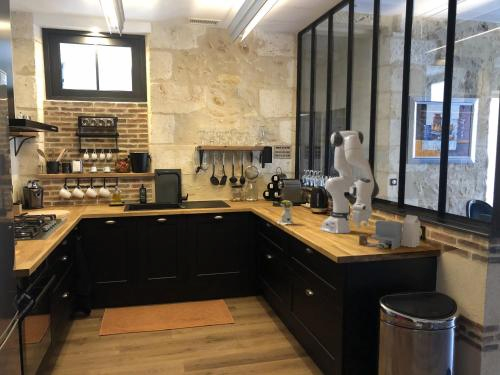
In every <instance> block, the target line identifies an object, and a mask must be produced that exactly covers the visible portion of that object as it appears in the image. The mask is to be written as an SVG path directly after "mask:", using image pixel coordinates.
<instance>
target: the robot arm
mask: <svg viewBox="0 0 500 375" xmlns="http://www.w3.org/2000/svg"><path fill="white" fill-rule="evenodd" d="M363 143H364V134H363V132H362V131H357V130H340V131H339V130H338V131H337V130H336V131H333V133H332V134H331V136H330V144H331V145H332V146H333V147H335V148H334V158H333V159H334V161H333V162H334V164H333V168H334V170H336V171H337V172H338V175H339V176H334V177H331V178H327V179H326V181H325V188H326V191H327V192H329V194H330V196H331V197H332V198H331V199H332V205H333V206H332V211H330V212H329V214H330V216H329V217H327V218H326V219H325V220H324V221H323V222H322V225H321V227H319V228H318V230H319V231H321V232H325V233H326V232H327V233H331V234H349V233H351V232H352V231H351V226H350V216H352V217H351V218H352V222H353V223H355V225H356V229H358V230H359V229H361V222H363V221H364V222H363V226H364V227H368V222H369V219H371V218H373V207H372V199H375V198H376V197H377V196H378V195H379V194H380V186H379V184H378V183H377V180H376V177H375V174H374V171H373V168H372V165H371V162H370V160H369V159H368V158H366V156H365V154H364V153H363V148H362V145H363ZM351 166H352V167H353V166H354V167H356V168H359V169H360V170H362V171H363V173H364V176H365V177H360V178H359V179H358V180H357V178H356V177H355V176H354V173H353V172H352V168H351ZM345 193H349V196H351V197H353V198H355V199H356V200H355V203H354V204H353V205H352V206H351V209H353V210H352V215H350V214H351V213H350V200H349V199H348V198H346V197H345Z"/></svg>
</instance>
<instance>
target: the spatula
mask: <svg viewBox="0 0 500 375" xmlns="http://www.w3.org/2000/svg"><path fill="white" fill-rule="evenodd" d="M368 238H369V237H368V234H362V233H361V234H359V239H358V245H359V246H362V245H363V247H373V246H374V247H375V248H377V245H384V247H385V248H384V249H389V248H390V244H385V243H374V242H369V241H368Z"/></svg>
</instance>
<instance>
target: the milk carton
mask: <svg viewBox="0 0 500 375" xmlns="http://www.w3.org/2000/svg"><path fill="white" fill-rule="evenodd" d="M420 234H421V221H420V220H419V218H418V216H417V215H411V214H406V216H405V218H404V220H403V221H402V244H401V246H402V247H406V246H407V247H406V248H410V247H412V248H411V249H414V248H417V247H416V246H418V247H420ZM413 247H414V248H413Z"/></svg>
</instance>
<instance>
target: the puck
mask: <svg viewBox="0 0 500 375" xmlns="http://www.w3.org/2000/svg"><path fill="white" fill-rule="evenodd" d="M378 248H379V249H378ZM383 248H384V245H377V247H376V249H378V250H384V249H385V248H384V249H383Z"/></svg>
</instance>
